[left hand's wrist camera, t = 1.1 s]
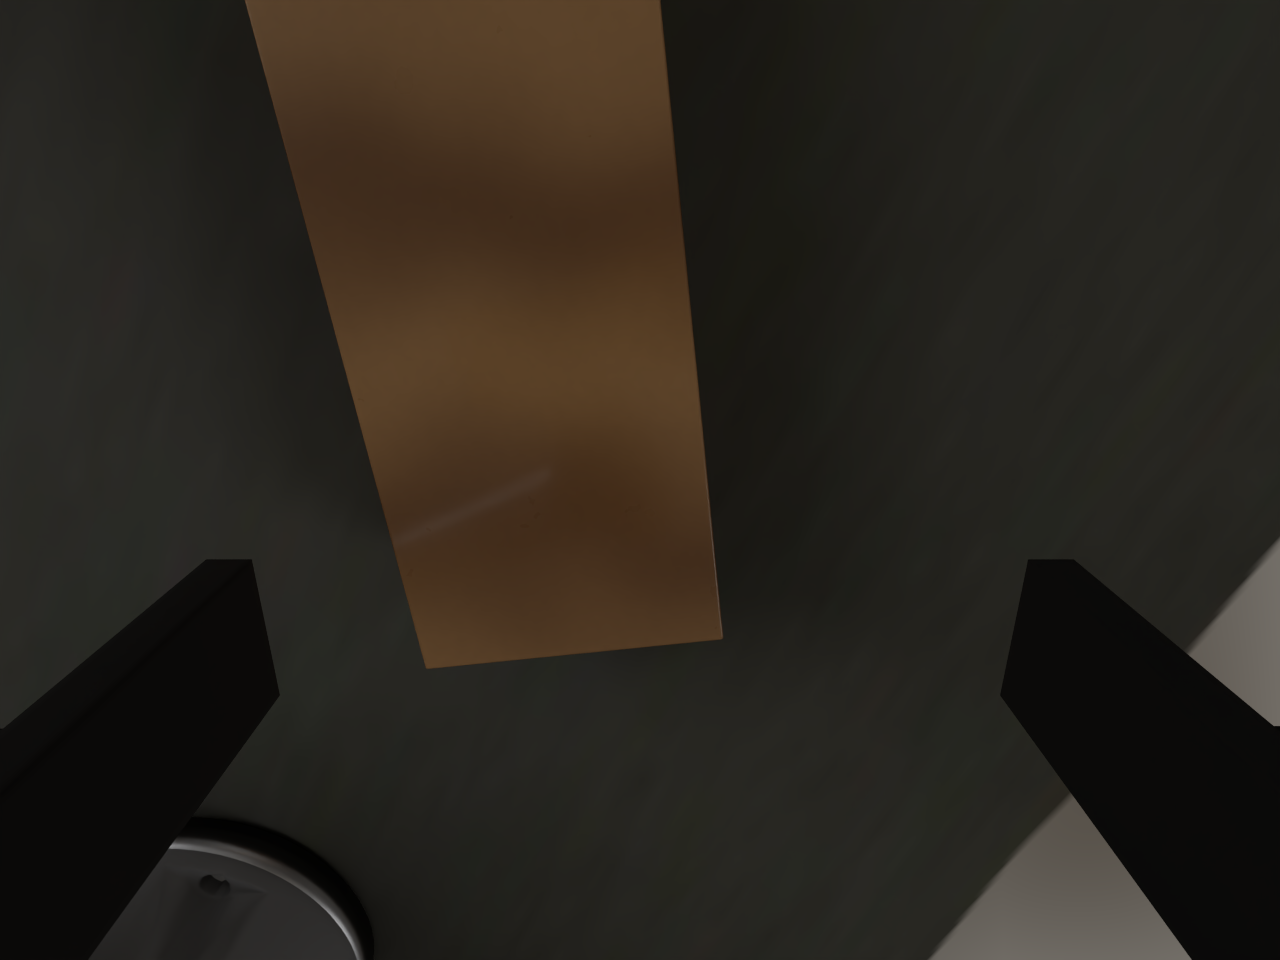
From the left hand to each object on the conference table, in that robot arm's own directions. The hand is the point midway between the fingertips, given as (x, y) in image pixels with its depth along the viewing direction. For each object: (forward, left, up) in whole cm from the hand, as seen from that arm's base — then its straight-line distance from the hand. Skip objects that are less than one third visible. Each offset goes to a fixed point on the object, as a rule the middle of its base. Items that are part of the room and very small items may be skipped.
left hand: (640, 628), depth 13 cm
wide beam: (+7, +33, -16) cm, 37 cm away
